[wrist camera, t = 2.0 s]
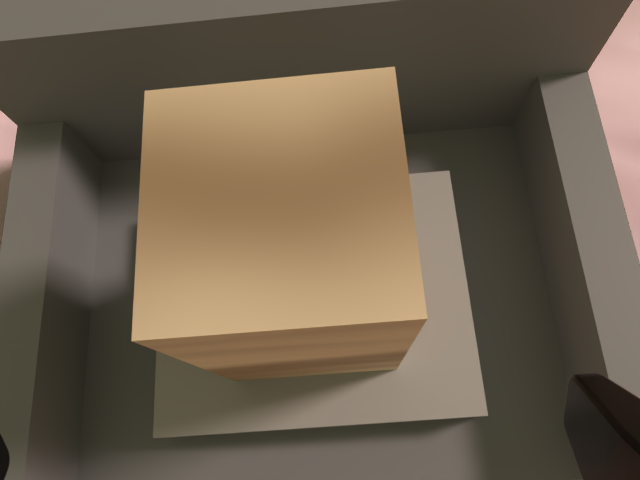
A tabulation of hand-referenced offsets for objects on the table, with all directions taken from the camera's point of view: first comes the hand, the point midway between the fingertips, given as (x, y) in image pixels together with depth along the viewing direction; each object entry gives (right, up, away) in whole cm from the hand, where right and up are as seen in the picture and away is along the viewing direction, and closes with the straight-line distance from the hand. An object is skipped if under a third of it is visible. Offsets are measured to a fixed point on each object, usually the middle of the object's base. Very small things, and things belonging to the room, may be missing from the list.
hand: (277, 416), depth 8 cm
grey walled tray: (0, +1, +12) cm, 12 cm away
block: (0, +1, +9) cm, 9 cm away
